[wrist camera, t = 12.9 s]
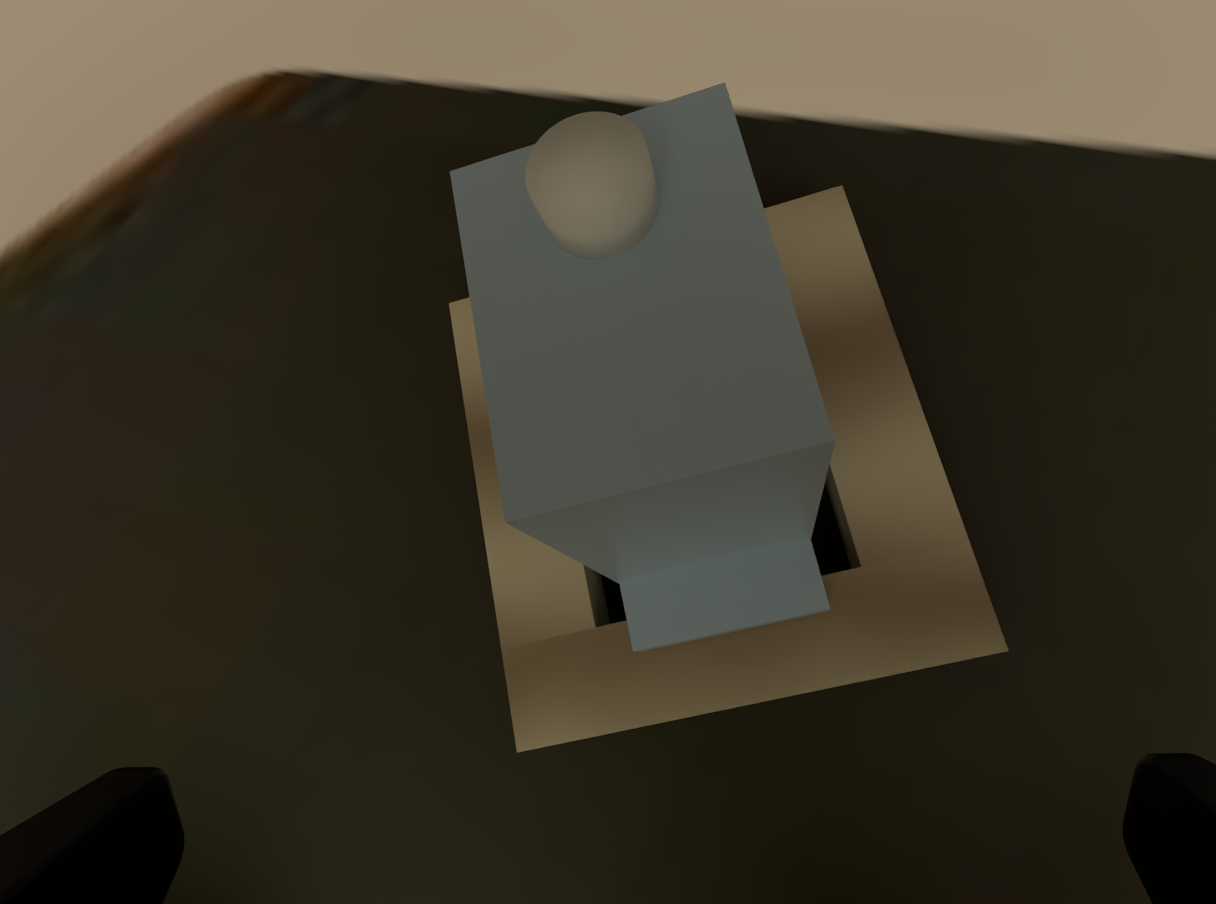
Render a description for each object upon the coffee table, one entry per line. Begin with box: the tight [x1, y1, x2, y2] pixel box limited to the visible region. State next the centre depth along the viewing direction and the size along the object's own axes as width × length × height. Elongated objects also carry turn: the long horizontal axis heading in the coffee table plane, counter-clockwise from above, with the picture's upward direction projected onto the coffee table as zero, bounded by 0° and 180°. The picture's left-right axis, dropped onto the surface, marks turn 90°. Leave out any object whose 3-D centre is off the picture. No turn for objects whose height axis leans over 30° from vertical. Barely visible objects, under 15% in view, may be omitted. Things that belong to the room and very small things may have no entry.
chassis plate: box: [449, 185, 1008, 752], centre depth 21 cm, size 13×12×2 cm
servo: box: [450, 83, 835, 652], centre depth 16 cm, size 9×5×12 cm, turn 12°
